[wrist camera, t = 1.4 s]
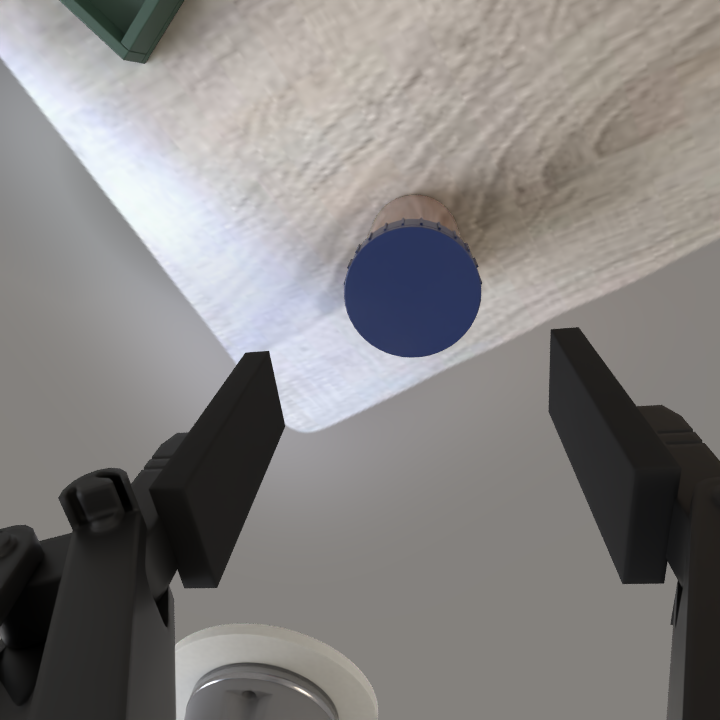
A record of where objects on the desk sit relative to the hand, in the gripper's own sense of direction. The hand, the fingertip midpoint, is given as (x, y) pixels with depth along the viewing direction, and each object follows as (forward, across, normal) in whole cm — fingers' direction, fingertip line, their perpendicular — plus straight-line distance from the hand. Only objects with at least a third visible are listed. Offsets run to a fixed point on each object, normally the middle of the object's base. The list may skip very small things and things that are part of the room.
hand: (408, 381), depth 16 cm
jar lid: (+9, 0, 0) cm, 9 cm away
